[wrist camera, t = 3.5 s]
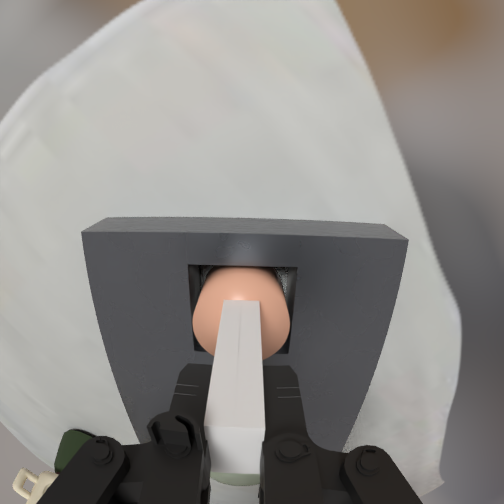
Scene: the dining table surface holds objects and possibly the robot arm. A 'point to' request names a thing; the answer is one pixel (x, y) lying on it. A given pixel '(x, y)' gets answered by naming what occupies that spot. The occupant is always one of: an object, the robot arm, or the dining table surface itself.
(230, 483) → the sage button
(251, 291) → the terracotta button
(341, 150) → the dining table surface
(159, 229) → the panel
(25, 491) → the character mug
